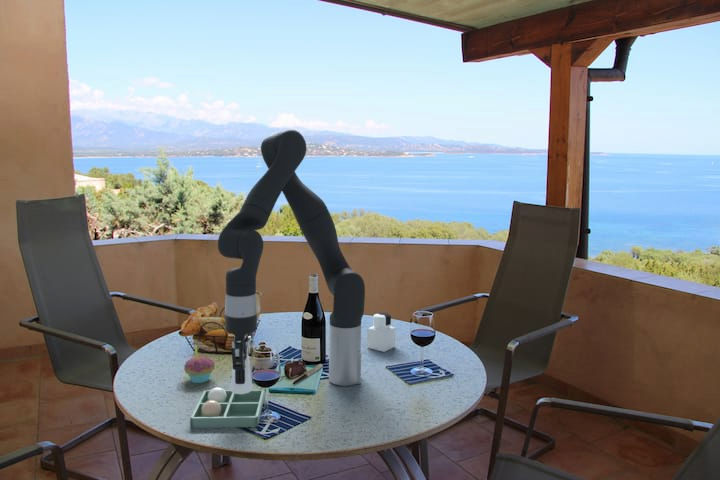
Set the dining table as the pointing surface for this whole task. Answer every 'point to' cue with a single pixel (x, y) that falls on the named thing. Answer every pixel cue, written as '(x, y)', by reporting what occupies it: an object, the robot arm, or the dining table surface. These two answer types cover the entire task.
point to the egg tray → (231, 411)
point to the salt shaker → (248, 380)
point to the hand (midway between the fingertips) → (241, 379)
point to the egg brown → (211, 409)
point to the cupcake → (199, 368)
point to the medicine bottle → (381, 333)
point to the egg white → (217, 395)
